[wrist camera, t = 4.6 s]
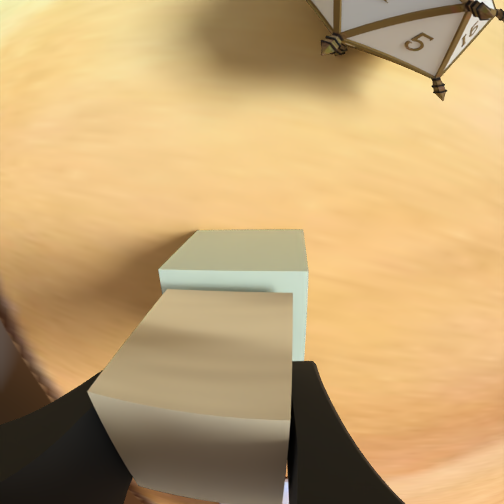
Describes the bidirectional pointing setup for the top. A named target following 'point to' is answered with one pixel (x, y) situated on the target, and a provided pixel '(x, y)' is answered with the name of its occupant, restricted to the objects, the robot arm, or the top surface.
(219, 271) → the base block
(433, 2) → the game die
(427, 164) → the top surface
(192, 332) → the birch block
